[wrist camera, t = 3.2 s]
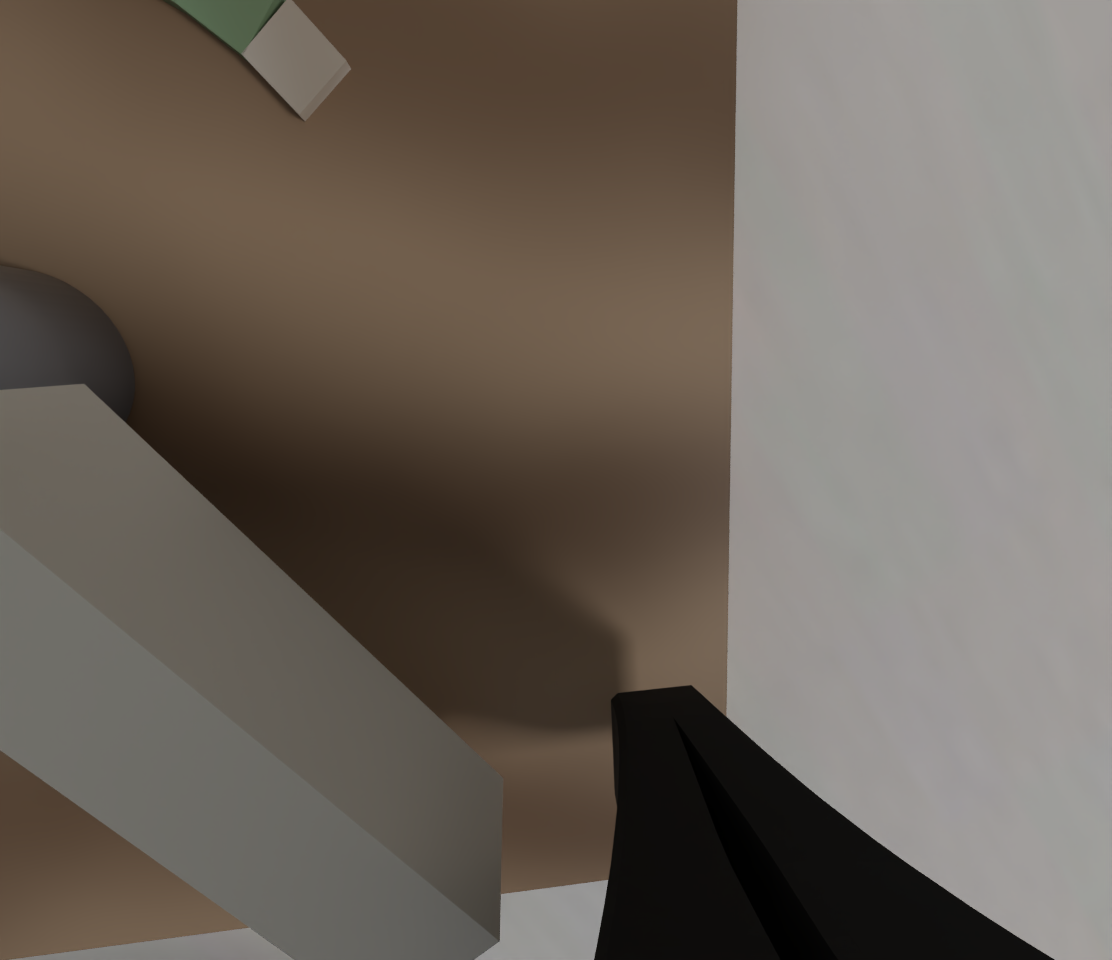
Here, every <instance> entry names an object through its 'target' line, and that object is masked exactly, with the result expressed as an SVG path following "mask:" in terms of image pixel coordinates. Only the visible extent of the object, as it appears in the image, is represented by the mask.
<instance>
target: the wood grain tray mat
mask: <svg viewBox="0 0 1112 960" xmlns="http://www.w3.org/2000/svg"><path fill="white" fill-rule="evenodd" d="M736 46H737V0H0V265H1V266H7V267H13V268H19V269H25V270H30V271H36V272H39V273H43V274H46V275H49V276H52V277H54V278H57V279H59V280H61V281H64V282H65V283H67V284H69V285H71V286H72V287H74V288H76V289H78V290H79V291H80V292H82V293H83V294H85V295H86V296H87V297H89V298H90V299H91V300H92V301H93V302H94V303H95V304H97V305H98V306H99V307H100V308H101V309H102V310H103V311H104V313H105V314H106V315H107V316H108V317H109V318H110V320H111V321H112V322H113V324H114V325H115V326H116V328H117V329H118V331H119V333H120V334H121V336H122V338H123V340H124V342H125V344H126V346H127V349H128V351H129V354H130V357H131V361H132V364H133V369H134V376H135V393H134V400H133V404H132V408H131V411H130V414H129V416H128V418H127V420H126V422H125V423H126V424H127V425H128V426H130V427H131V428H132V429H133V430H134V431H135V432H136V433H137V434H138V435H139V436H140V437H141V438H142V439H143V440H144V441H145V442H147V443H148V444H149V445H150V446H151V447H152V448H153V449H154V450H155V451H156V452H157V453H158V454H159V455H160V456H161V457H162V458H164V459H165V460H166V461H167V462H168V463H169V464H170V465H171V466H172V467H173V468H174V469H175V470H176V471H177V472H178V473H179V474H181V475H182V476H183V477H184V478H185V479H186V480H187V481H188V482H189V483H190V484H191V485H192V486H193V487H194V488H195V489H196V490H198V491H199V492H200V493H201V494H202V495H203V496H204V497H205V498H206V499H207V500H208V501H209V502H210V503H211V504H212V505H213V506H215V507H216V508H217V509H218V510H219V511H220V512H221V513H222V514H223V515H224V516H225V517H226V518H227V519H228V520H229V521H230V522H232V523H233V524H234V525H235V526H236V527H237V528H238V529H239V530H240V531H241V532H242V533H243V534H244V535H245V536H246V537H247V538H249V539H250V540H251V541H252V542H253V543H254V544H255V545H256V546H257V547H258V548H259V549H260V550H261V551H262V552H263V553H265V554H266V555H267V556H268V557H269V558H270V559H271V560H272V561H273V562H274V563H275V564H276V565H277V566H278V567H279V568H280V569H282V570H283V571H284V572H285V573H286V574H287V575H288V576H289V577H290V578H291V579H292V580H293V581H294V582H295V583H296V584H297V585H299V586H300V587H301V588H302V589H303V590H304V591H305V592H306V593H307V594H308V595H309V596H310V597H311V598H312V599H313V600H314V601H316V602H317V603H318V604H319V605H320V606H321V607H322V608H323V609H324V610H325V611H326V612H327V613H328V614H329V615H330V616H331V617H333V618H334V619H335V620H336V621H337V622H338V623H339V624H340V625H341V626H342V627H343V628H344V629H345V630H346V631H347V632H348V633H350V634H351V635H352V636H353V637H354V638H355V639H356V640H357V641H358V642H359V643H360V644H361V645H362V646H363V647H364V648H365V649H367V650H368V651H369V652H370V653H371V654H372V655H373V656H374V657H375V658H376V659H377V660H378V661H379V662H380V663H381V664H382V665H384V666H385V667H386V668H387V669H388V670H389V671H390V672H391V673H392V674H393V675H394V676H395V677H396V678H397V679H398V680H399V681H401V682H402V683H403V684H404V685H405V686H406V687H407V688H408V689H409V690H410V691H411V692H412V693H413V694H414V695H415V696H416V697H418V698H419V699H420V700H421V701H422V702H423V703H424V704H425V705H426V706H427V707H428V708H429V709H430V710H431V711H432V712H434V713H435V714H436V715H437V716H438V717H439V718H440V719H441V720H442V721H443V722H444V723H445V724H446V725H447V726H448V727H449V728H451V729H452V730H453V731H454V732H455V733H456V734H457V735H458V736H459V737H460V738H461V739H462V740H463V741H464V742H465V743H466V744H468V745H469V746H470V747H471V748H472V749H473V750H474V751H475V752H476V753H477V754H478V755H479V756H480V757H481V758H482V759H483V760H485V761H486V762H487V763H488V764H489V765H490V766H491V767H492V768H493V769H494V770H495V771H496V772H497V773H498V774H499V775H500V776H502V777H503V810H502V855H501V894H504V893H512V892H519V891H527V890H534V889H542V888H549V887H557V886H564V885H572V884H579V883H587V882H594V881H602V880H608V879H609V873H610V866H611V858H612V849H613V840H614V831H615V822H616V814H617V804H616V798H615V789H614V766H613V742H612V718H611V699H612V698H613V697H614V696H615V695H616V694H617V693H621V692H631V691H640V690H649V689H659V688H668V687H678V686H687V685H692V686H693V687H694V688H695V689H696V690H697V691H699V692H700V693H701V694H702V695H703V696H704V697H705V698H706V699H707V700H709V701H710V702H711V703H712V704H713V705H714V706H715V707H716V708H717V709H718V710H719V711H721V712H722V713H723V714H724V715H725V716H726V703H727V637H728V572H729V506H730V440H731V375H732V309H733V243H734V177H735V112H736ZM242 928H249V927H248V926H247V925H245V924H244V923H242V922H241V921H240V920H238V919H237V918H235V917H234V916H232V915H231V914H230V913H228V912H227V911H225V910H224V909H223V908H221V907H220V906H218V905H217V904H216V903H214V902H213V901H211V900H210V899H209V898H207V897H206V896H204V895H203V894H202V893H200V892H199V891H197V890H196V889H195V888H193V887H192V886H190V885H189V884H188V883H186V882H185V881H183V880H182V879H180V878H179V877H178V876H176V875H175V874H173V873H172V872H171V871H169V870H168V869H166V868H165V867H164V866H162V865H161V864H159V863H158V862H157V861H155V860H154V859H152V858H151V857H150V856H148V855H147V854H145V853H144V852H143V851H141V850H140V849H138V848H137V847H135V846H134V845H133V844H131V843H130V842H128V841H127V840H126V839H124V838H123V837H121V836H120V835H119V834H117V833H116V832H114V831H113V830H112V829H110V828H109V827H107V826H106V825H105V824H103V823H102V822H100V821H99V820H98V819H96V818H95V817H93V816H92V815H91V814H89V813H88V812H86V811H85V810H83V809H82V808H81V807H79V806H78V805H76V804H75V803H74V802H72V801H71V800H69V799H68V798H67V797H65V796H64V795H62V794H61V793H60V792H58V791H57V790H55V789H54V788H53V787H51V786H50V785H48V784H47V783H46V782H44V781H43V780H41V779H40V778H39V777H37V776H36V775H34V774H33V773H31V772H30V771H29V770H27V769H26V768H24V767H23V766H22V765H20V764H19V763H17V762H16V761H15V760H13V759H12V758H10V757H9V756H8V755H6V754H5V753H3V752H2V751H1V750H0V960H9V959H16V958H24V957H31V956H39V955H46V954H54V953H61V952H69V951H76V950H84V949H92V948H99V947H107V946H114V945H122V944H129V943H137V942H144V941H152V940H159V939H167V938H174V937H182V936H189V935H197V934H204V933H212V932H219V931H227V930H234V929H242Z"/></svg>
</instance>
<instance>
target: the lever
mask: <svg viewBox="0 0 1112 960" xmlns="http://www.w3.org/2000/svg"><path fill="white" fill-rule="evenodd" d="M134 393H135V376H134V369H133V364H132V361H131V357H130V354H129V351H128V349H127V346H126V344H125V342H124V340H123V338H122V336H121V334H120V333H119V331H118V329H117V328H116V326H115V325H114V324H113V322H112V321H111V320H110V318H109V317H108V316H107V315H106V314H105V313H104V311H103V310H102V309H101V308H100V307H99V306H98V305H97V304H95V303H94V302H93V301H92V300H91V299H90V298H89V297H87V296H86V295H85V294H83V293H82V292H80V291H79V290H78V289H76V288H74V287H72V286H71V285H69V284H67V283H65V282H64V281H61V280H59V279H57V278H54V277H52V276H49V275H46V274H43V273H39V272H36V271H30V270H25V269H19V268H13V267H7V266H1V265H0V750H1V751H2V752H3V753H5V754H6V755H8V756H9V757H10V758H12V759H13V760H15V761H16V762H17V763H19V764H20V765H22V766H23V767H24V768H26V769H27V770H29V771H30V772H31V773H33V774H34V775H36V776H37V777H39V778H40V779H41V780H43V781H44V782H46V783H47V784H48V785H50V786H51V787H53V788H54V789H55V790H57V791H58V792H60V793H61V794H62V795H64V796H65V797H67V798H68V799H69V800H71V801H72V802H74V803H75V804H76V805H78V806H79V807H81V808H82V809H83V810H85V811H86V812H88V813H89V814H91V815H92V816H93V817H95V818H96V819H98V820H99V821H100V822H102V823H103V824H105V825H106V826H107V827H109V828H110V829H112V830H113V831H114V832H116V833H117V834H119V835H120V836H121V837H123V838H124V839H126V840H127V841H128V842H130V843H131V844H133V845H134V846H135V847H137V848H138V849H140V850H141V851H143V852H144V853H145V854H147V855H148V856H150V857H151V858H152V859H154V860H155V861H157V862H158V863H159V864H161V865H162V866H164V867H165V868H166V869H168V870H169V871H171V872H172V873H173V874H175V875H176V876H178V877H179V878H180V879H182V880H183V881H185V882H186V883H188V884H189V885H190V886H192V887H193V888H195V889H196V890H197V891H199V892H200V893H202V894H203V895H204V896H206V897H207V898H209V899H210V900H211V901H213V902H214V903H216V904H217V905H218V906H220V907H221V908H223V909H224V910H225V911H227V912H228V913H230V914H231V915H232V916H234V917H235V918H237V919H238V920H240V921H241V922H242V923H244V924H245V925H247V926H248V927H249V928H251V929H252V930H254V931H255V932H256V933H258V934H259V935H261V936H262V937H263V938H265V939H266V940H268V941H269V942H270V943H272V944H273V945H275V946H276V947H277V948H279V949H280V950H282V951H283V952H284V953H286V954H287V955H289V956H290V957H292V958H293V959H294V960H474V959H475V958H477V957H478V956H480V955H481V954H482V953H484V952H485V951H487V950H488V949H489V948H491V947H492V946H494V945H495V944H496V943H498V942H499V941H500V900H501V855H502V810H503V777H502V776H500V775H499V774H498V773H497V772H496V771H495V770H494V769H493V768H492V767H491V766H490V765H489V764H488V763H487V762H486V761H485V760H483V759H482V758H481V757H480V756H479V755H478V754H477V753H476V752H475V751H474V750H473V749H472V748H471V747H470V746H469V745H468V744H466V743H465V742H464V741H463V740H462V739H461V738H460V737H459V736H458V735H457V734H456V733H455V732H454V731H453V730H452V729H451V728H449V727H448V726H447V725H446V724H445V723H444V722H443V721H442V720H441V719H440V718H439V717H438V716H437V715H436V714H435V713H434V712H432V711H431V710H430V709H429V708H428V707H427V706H426V705H425V704H424V703H423V702H422V701H421V700H420V699H419V698H418V697H416V696H415V695H414V694H413V693H412V692H411V691H410V690H409V689H408V688H407V687H406V686H405V685H404V684H403V683H402V682H401V681H399V680H398V679H397V678H396V677H395V676H394V675H393V674H392V673H391V672H390V671H389V670H388V669H387V668H386V667H385V666H384V665H382V664H381V663H380V662H379V661H378V660H377V659H376V658H375V657H374V656H373V655H372V654H371V653H370V652H369V651H368V650H367V649H365V648H364V647H363V646H362V645H361V644H360V643H359V642H358V641H357V640H356V639H355V638H354V637H353V636H352V635H351V634H350V633H348V632H347V631H346V630H345V629H344V628H343V627H342V626H341V625H340V624H339V623H338V622H337V621H336V620H335V619H334V618H333V617H331V616H330V615H329V614H328V613H327V612H326V611H325V610H324V609H323V608H322V607H321V606H320V605H319V604H318V603H317V602H316V601H314V600H313V599H312V598H311V597H310V596H309V595H308V594H307V593H306V592H305V591H304V590H303V589H302V588H301V587H300V586H299V585H297V584H296V583H295V582H294V581H293V580H292V579H291V578H290V577H289V576H288V575H287V574H286V573H285V572H284V571H283V570H282V569H280V568H279V567H278V566H277V565H276V564H275V563H274V562H273V561H272V560H271V559H270V558H269V557H268V556H267V555H266V554H265V553H263V552H262V551H261V550H260V549H259V548H258V547H257V546H256V545H255V544H254V543H253V542H252V541H251V540H250V539H249V538H247V537H246V536H245V535H244V534H243V533H242V532H241V531H240V530H239V529H238V528H237V527H236V526H235V525H234V524H233V523H232V522H230V521H229V520H228V519H227V518H226V517H225V516H224V515H223V514H222V513H221V512H220V511H219V510H218V509H217V508H216V507H215V506H213V505H212V504H211V503H210V502H209V501H208V500H207V499H206V498H205V497H204V496H203V495H202V494H201V493H200V492H199V491H198V490H196V489H195V488H194V487H193V486H192V485H191V484H190V483H189V482H188V481H187V480H186V479H185V478H184V477H183V476H182V475H181V474H179V473H178V472H177V471H176V470H175V469H174V468H173V467H172V466H171V465H170V464H169V463H168V462H167V461H166V460H165V459H164V458H162V457H161V456H160V455H159V454H158V453H157V452H156V451H155V450H154V449H153V448H152V447H151V446H150V445H149V444H148V443H147V442H145V441H144V440H143V439H142V438H141V437H140V436H139V435H138V434H137V433H136V432H135V431H134V430H133V429H132V428H131V427H130V426H128V425H127V424H126V423H125V422H126V420H127V418H128V416H129V414H130V411H131V408H132V404H133V400H134Z"/></svg>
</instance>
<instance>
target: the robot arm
mask: <svg viewBox="0 0 1112 960" xmlns="http://www.w3.org/2000/svg"><path fill="white" fill-rule="evenodd" d="M611 718H612V742H613V766H614V789H615V798H616V804H617V814H616V822H615V831H614V840H613V849H612V858H611V866H610V873H609V879H608V886H607V892H606V898H605V904H604V910H603V916H602V921H601V927H600V932H599V938H598V943H597V948H596V953H595V958H594V960H1054V959H1053V958H1051V957H1049V956H1048V955H1046V954H1044V953H1043V952H1041V951H1040V950H1038V949H1036V948H1035V947H1033V946H1031V945H1030V944H1028V943H1026V942H1025V941H1023V940H1022V939H1020V938H1018V937H1017V936H1015V935H1014V934H1012V933H1011V932H1009V931H1007V930H1006V929H1004V928H1003V927H1001V926H1000V925H998V924H997V923H995V922H993V921H992V920H990V919H989V918H987V917H986V916H984V915H983V914H981V913H979V912H978V911H976V910H975V909H973V908H972V907H970V906H969V905H967V904H966V903H964V902H963V901H962V900H960V899H959V898H957V897H956V896H954V895H953V894H951V893H950V892H948V891H947V890H945V889H944V888H943V887H941V886H940V885H938V884H937V883H935V882H934V881H932V880H931V879H929V878H928V877H926V876H925V875H923V874H922V873H921V872H919V871H918V870H916V869H915V868H913V867H912V866H910V865H909V864H907V863H906V862H905V861H903V860H902V859H900V858H899V857H898V856H896V855H895V854H893V853H892V852H891V851H889V850H888V849H887V848H885V847H884V846H882V845H881V844H880V843H878V842H877V841H876V840H874V839H873V838H871V837H870V836H869V835H868V834H866V833H865V832H864V831H862V830H861V829H860V828H858V827H857V826H856V825H855V824H853V823H852V822H851V821H849V820H848V819H847V818H845V817H844V816H843V815H842V814H840V813H839V812H838V811H836V810H835V809H834V808H832V807H831V806H830V805H829V804H827V803H826V802H825V801H823V800H822V799H821V798H820V797H818V796H817V795H816V794H815V793H814V792H812V791H811V790H810V789H809V788H807V787H806V786H805V785H804V784H803V783H801V782H800V781H799V780H798V779H797V778H796V777H794V776H793V775H792V774H791V773H790V772H788V771H787V770H786V769H785V768H784V767H783V766H781V765H780V764H779V763H778V762H777V761H775V760H774V759H773V758H772V757H771V756H770V755H768V754H767V753H766V752H765V751H764V750H763V749H762V748H760V747H759V746H758V745H757V744H756V743H755V742H754V741H753V740H751V739H750V738H749V737H748V736H747V735H746V734H745V733H744V732H743V731H741V730H740V729H739V728H738V727H737V726H736V725H735V724H734V723H733V722H732V721H730V720H729V719H728V718H727V717H726V716H725V715H724V714H723V713H722V712H721V711H719V710H718V709H717V708H716V707H715V706H714V705H713V704H712V703H711V702H710V701H709V700H707V699H706V698H705V697H704V696H703V695H702V694H701V693H700V692H699V691H697V690H696V689H695V688H694V687H693V686H692V685H687V686H678V687H668V688H659V689H649V690H640V691H631V692H621V693H617V694H616V695H615V696H614V697H613V698H612V699H611Z"/></svg>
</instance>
